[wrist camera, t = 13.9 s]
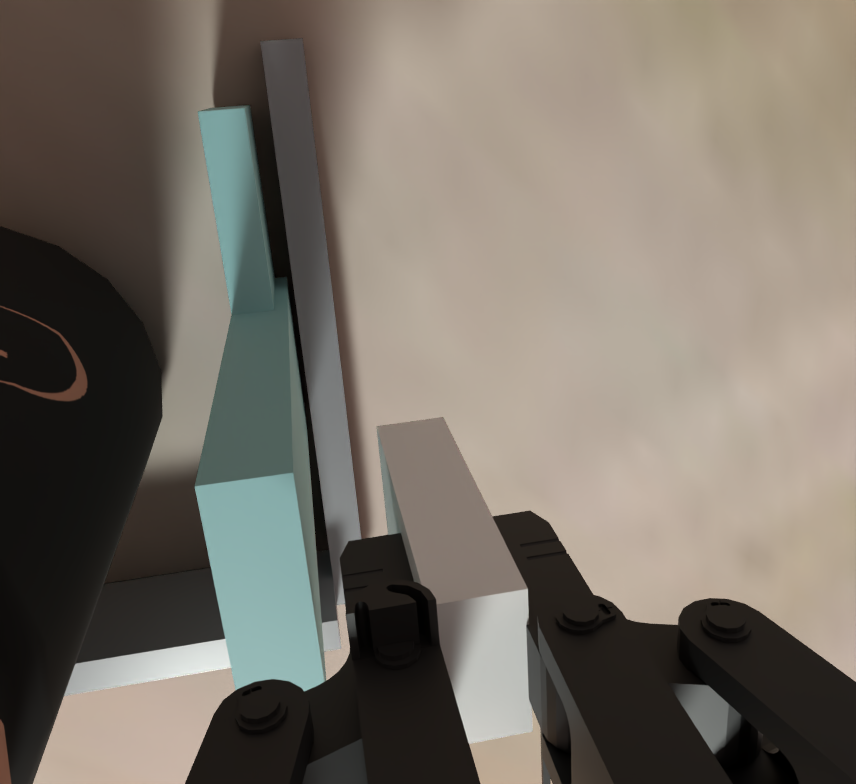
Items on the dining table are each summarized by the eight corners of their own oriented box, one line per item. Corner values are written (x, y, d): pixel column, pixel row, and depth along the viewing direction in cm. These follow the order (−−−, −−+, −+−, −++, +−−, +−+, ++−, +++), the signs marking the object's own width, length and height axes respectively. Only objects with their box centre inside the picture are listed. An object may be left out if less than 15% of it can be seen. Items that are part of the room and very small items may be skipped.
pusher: (210, 107, 24) (124, 133, 11) (263, 103, 25) (240, 123, 11) (282, 549, 30) (282, 923, 17) (323, 543, 31) (358, 907, 17)
